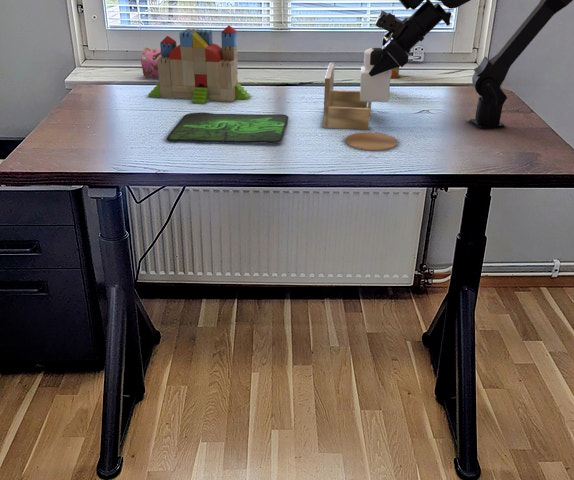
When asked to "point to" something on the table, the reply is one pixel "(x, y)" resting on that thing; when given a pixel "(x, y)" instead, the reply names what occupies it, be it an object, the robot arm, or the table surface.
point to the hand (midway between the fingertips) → (370, 71)
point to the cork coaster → (371, 141)
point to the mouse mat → (230, 128)
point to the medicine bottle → (374, 79)
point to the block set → (199, 67)
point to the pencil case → (150, 62)
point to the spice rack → (344, 106)
